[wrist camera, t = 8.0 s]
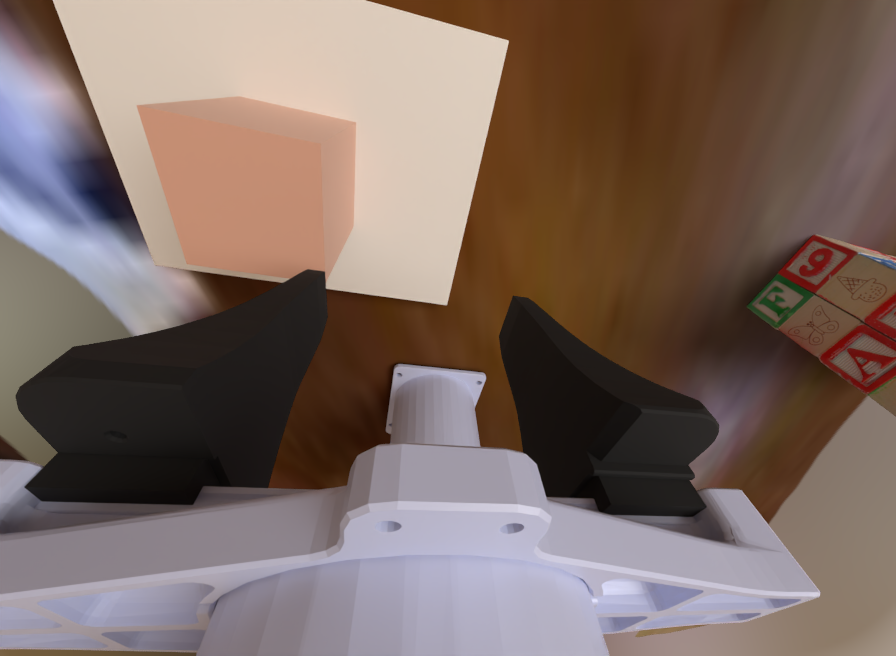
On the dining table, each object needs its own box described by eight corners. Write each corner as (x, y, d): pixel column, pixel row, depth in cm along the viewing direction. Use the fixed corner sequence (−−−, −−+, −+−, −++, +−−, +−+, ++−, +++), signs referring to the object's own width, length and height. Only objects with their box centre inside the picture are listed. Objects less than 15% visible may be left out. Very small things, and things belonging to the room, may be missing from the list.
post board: (445, 296, 23) (451, 359, 18) (167, 256, 20) (76, 318, 15) (503, 43, 15) (546, 22, 10) (46, -85, 12) (-252, -215, 7)
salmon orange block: (353, 226, 19) (325, 283, 13) (257, 209, 18) (186, 264, 12) (356, 122, 15) (320, 143, 10) (239, 96, 15) (135, 104, 9)
